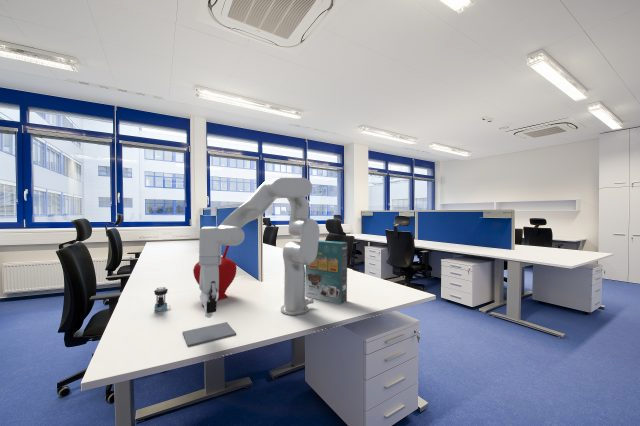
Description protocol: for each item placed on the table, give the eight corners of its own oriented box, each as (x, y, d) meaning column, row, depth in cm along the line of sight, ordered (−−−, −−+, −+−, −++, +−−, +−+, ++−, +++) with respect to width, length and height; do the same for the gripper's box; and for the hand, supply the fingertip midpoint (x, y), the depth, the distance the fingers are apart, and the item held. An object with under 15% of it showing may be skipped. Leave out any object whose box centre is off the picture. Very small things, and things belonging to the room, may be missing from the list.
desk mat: (226, 323, 108) (226, 321, 108) (236, 334, 98) (236, 333, 98) (182, 333, 99) (182, 331, 99) (187, 346, 89) (187, 344, 89)
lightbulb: (206, 322, 94) (207, 290, 94) (195, 318, 97) (196, 287, 97) (221, 316, 99) (222, 286, 99) (211, 312, 103) (211, 284, 103)
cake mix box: (346, 301, 137) (347, 242, 138) (341, 304, 132) (341, 243, 132) (311, 293, 149) (312, 239, 149) (305, 296, 144) (305, 240, 144)
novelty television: (226, 290, 153) (226, 238, 153) (240, 294, 146) (241, 239, 146) (190, 299, 136) (191, 240, 136) (204, 305, 129) (205, 242, 129)
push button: (171, 307, 126) (171, 285, 126) (170, 311, 121) (170, 288, 121) (154, 309, 123) (155, 287, 123) (152, 313, 118) (153, 290, 118)
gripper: (194, 257, 103) (193, 304, 103) (204, 265, 89) (203, 319, 89) (215, 256, 108) (214, 301, 107) (227, 263, 93) (226, 314, 93)
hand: (209, 309), depth 98 cm, fingers closed on lightbulb, 6 cm apart
